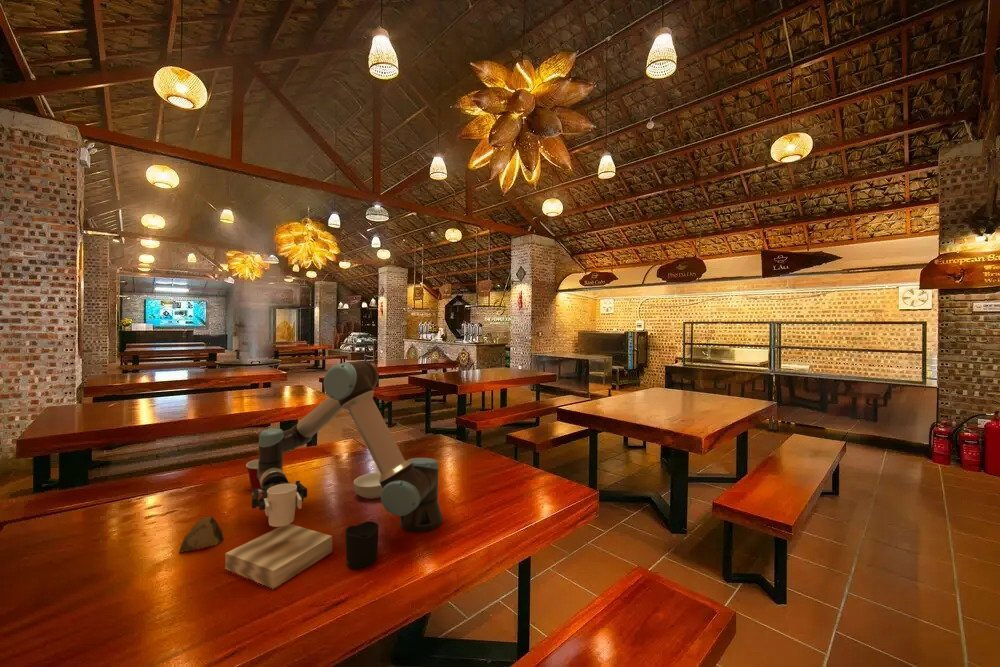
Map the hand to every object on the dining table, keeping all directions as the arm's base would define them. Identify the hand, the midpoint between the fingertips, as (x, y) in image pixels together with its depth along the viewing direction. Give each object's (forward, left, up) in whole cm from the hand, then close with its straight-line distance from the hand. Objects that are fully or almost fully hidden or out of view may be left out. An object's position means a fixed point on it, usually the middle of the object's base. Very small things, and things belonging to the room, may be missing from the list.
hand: (284, 507), depth 115 cm
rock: (+34, +3, -18) cm, 39 cm away
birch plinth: (+4, -2, -18) cm, 18 cm away
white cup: (+4, -2, -6) cm, 8 cm away
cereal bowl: (+12, -52, -18) cm, 57 cm away
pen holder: (-18, -12, -18) cm, 28 cm away
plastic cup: (+60, -35, -18) cm, 72 cm away
